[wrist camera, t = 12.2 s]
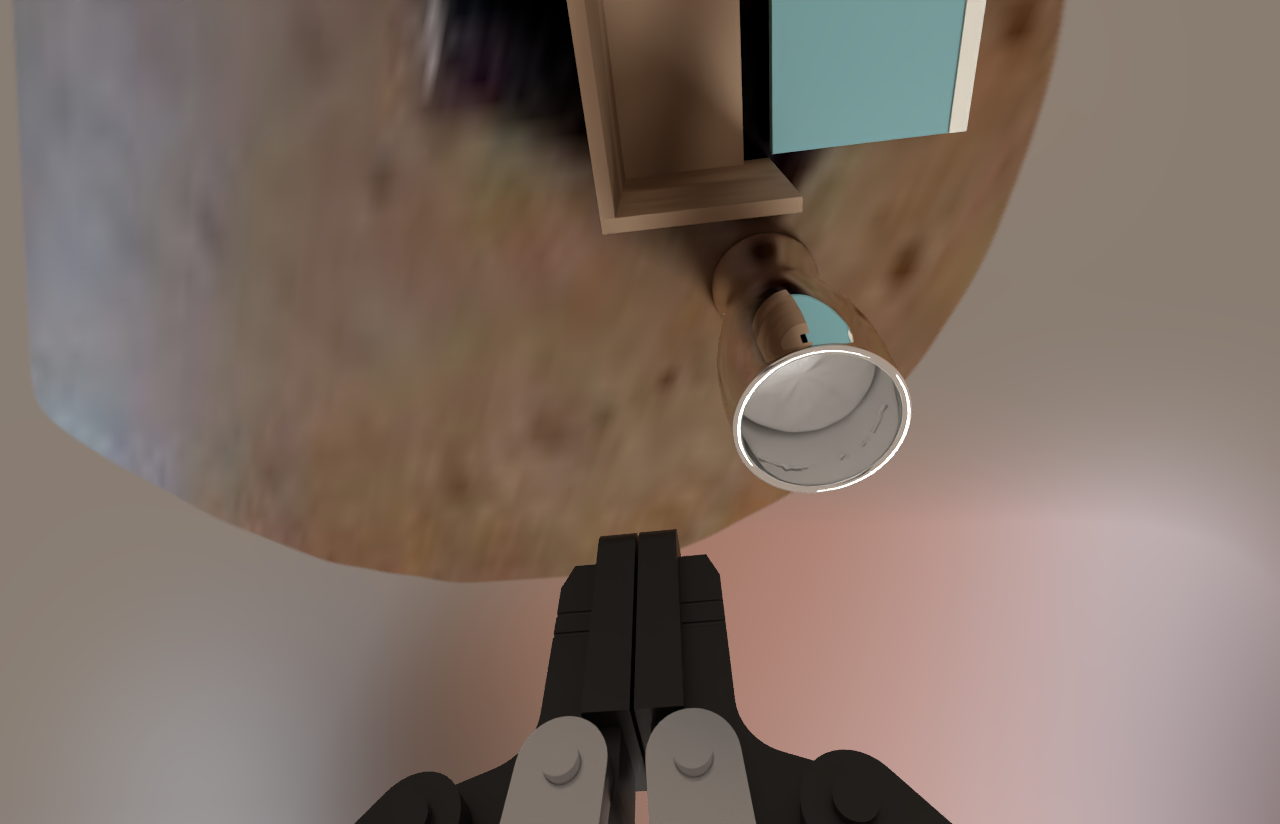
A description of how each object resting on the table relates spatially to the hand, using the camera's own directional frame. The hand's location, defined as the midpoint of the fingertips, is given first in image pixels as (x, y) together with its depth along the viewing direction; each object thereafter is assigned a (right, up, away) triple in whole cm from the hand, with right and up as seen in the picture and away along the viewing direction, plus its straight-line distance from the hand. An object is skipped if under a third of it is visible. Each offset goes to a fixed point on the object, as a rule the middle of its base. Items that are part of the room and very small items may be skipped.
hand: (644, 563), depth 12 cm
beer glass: (+7, +11, +23) cm, 27 cm away
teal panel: (+6, +21, +16) cm, 27 cm away
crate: (+2, +20, +17) cm, 27 cm away
